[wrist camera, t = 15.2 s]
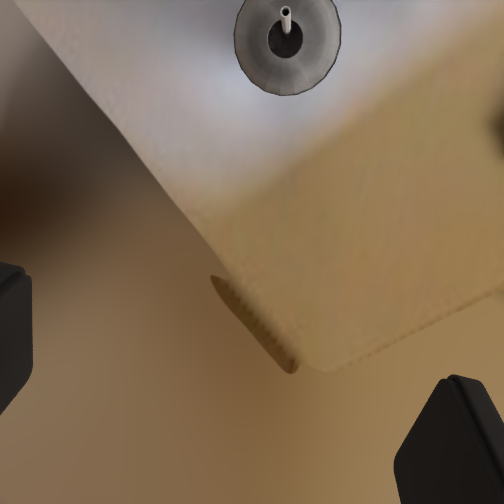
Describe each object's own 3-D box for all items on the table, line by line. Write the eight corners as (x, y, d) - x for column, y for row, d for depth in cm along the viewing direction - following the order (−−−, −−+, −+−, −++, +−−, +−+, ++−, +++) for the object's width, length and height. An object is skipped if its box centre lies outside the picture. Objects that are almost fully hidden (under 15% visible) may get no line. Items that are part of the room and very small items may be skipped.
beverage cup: (247, 77, 41) (206, 107, 23) (254, -12, 37) (213, -57, 20) (323, 85, 40) (342, 122, 23) (337, -4, 37) (372, -42, 19)
